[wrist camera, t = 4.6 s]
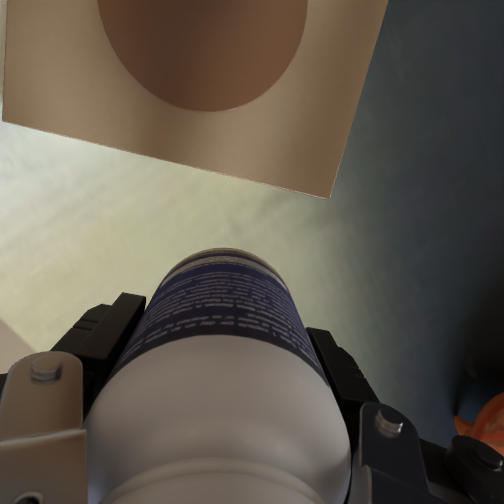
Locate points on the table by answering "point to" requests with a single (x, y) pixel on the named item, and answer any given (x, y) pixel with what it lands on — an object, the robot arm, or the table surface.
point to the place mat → (197, 80)
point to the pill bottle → (218, 397)
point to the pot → (486, 424)
